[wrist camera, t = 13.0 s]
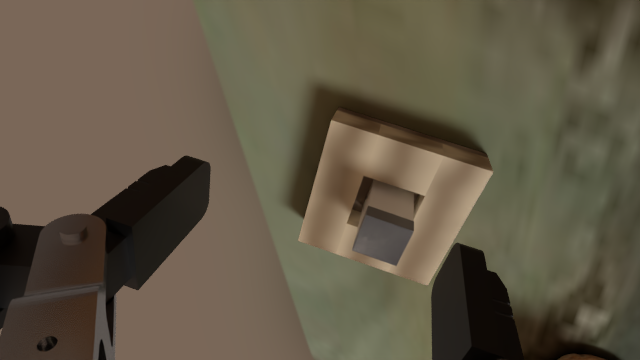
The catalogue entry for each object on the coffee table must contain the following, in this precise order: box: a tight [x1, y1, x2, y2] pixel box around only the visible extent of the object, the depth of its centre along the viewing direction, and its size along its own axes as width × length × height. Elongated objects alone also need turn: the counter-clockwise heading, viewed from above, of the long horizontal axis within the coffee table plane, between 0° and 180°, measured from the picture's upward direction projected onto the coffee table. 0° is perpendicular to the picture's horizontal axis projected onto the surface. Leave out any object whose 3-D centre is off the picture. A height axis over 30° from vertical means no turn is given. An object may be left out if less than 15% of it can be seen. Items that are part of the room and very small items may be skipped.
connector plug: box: [352, 179, 414, 266], centre depth 39 cm, size 5×5×8 cm
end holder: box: [298, 107, 493, 286], centre depth 41 cm, size 16×16×4 cm
